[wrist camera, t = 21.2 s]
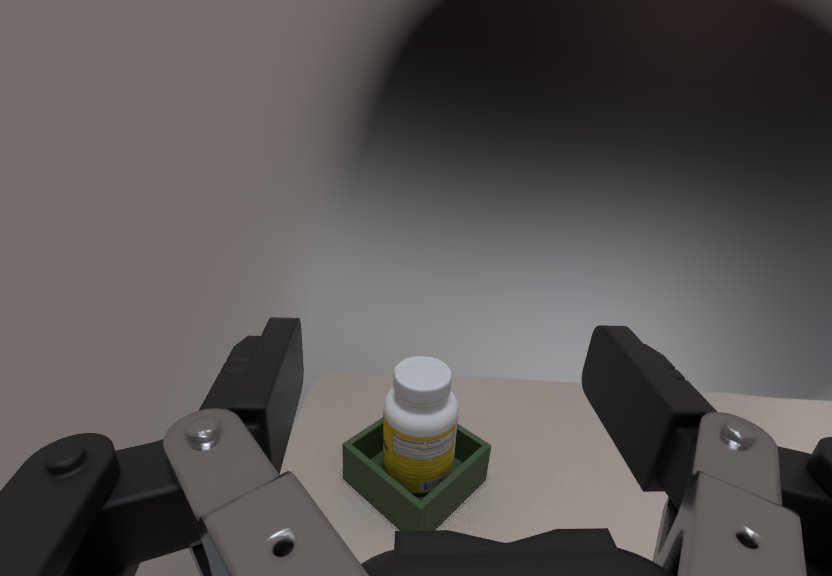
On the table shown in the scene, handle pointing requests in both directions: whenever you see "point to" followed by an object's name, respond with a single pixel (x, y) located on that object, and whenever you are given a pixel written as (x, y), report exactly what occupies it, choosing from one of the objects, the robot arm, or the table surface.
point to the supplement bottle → (420, 425)
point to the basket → (396, 500)
